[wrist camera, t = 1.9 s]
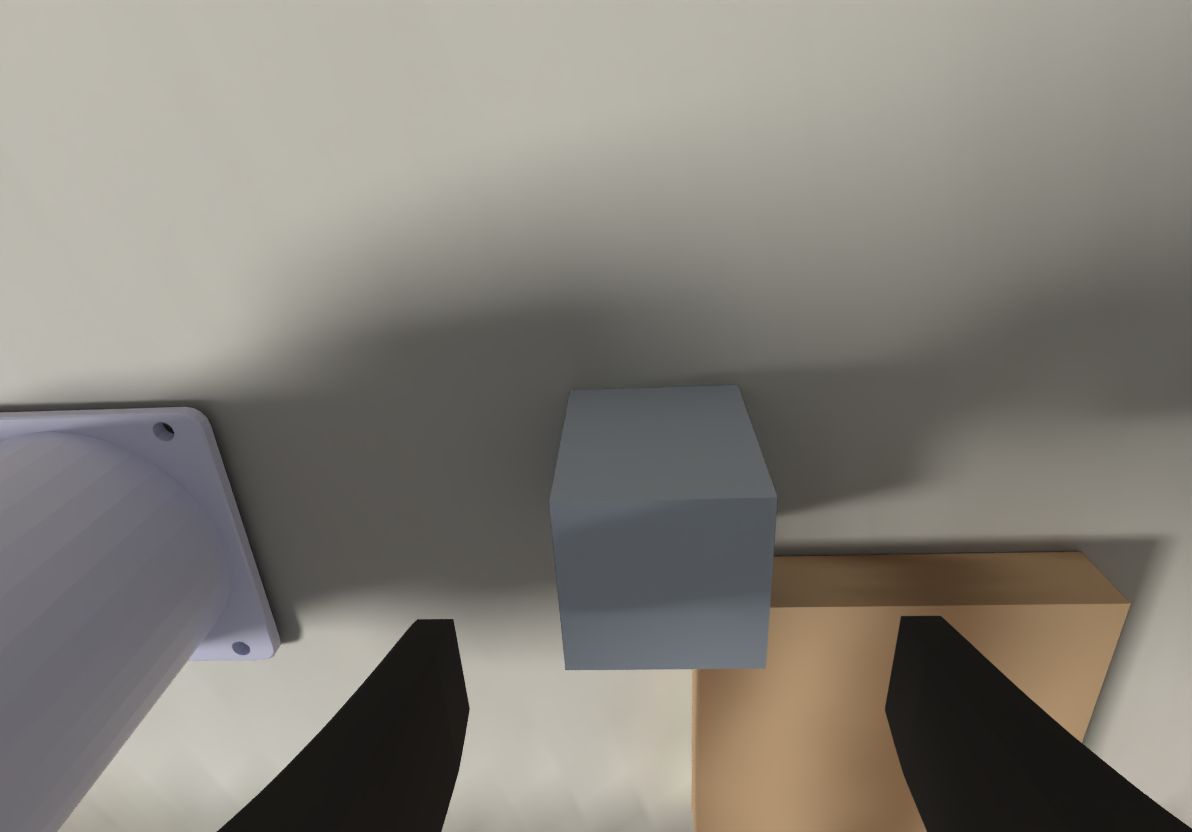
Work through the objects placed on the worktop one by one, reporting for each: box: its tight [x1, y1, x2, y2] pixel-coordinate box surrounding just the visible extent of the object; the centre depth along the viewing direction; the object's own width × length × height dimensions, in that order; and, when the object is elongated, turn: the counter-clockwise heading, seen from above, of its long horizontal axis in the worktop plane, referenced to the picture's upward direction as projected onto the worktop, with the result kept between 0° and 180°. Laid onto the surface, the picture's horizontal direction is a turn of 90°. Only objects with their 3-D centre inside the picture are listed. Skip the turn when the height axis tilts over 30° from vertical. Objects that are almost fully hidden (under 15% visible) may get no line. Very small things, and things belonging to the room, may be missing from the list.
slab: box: [692, 552, 1131, 832], centre depth 20 cm, size 10×10×2 cm
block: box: [549, 385, 778, 670], centre depth 15 cm, size 4×4×5 cm
